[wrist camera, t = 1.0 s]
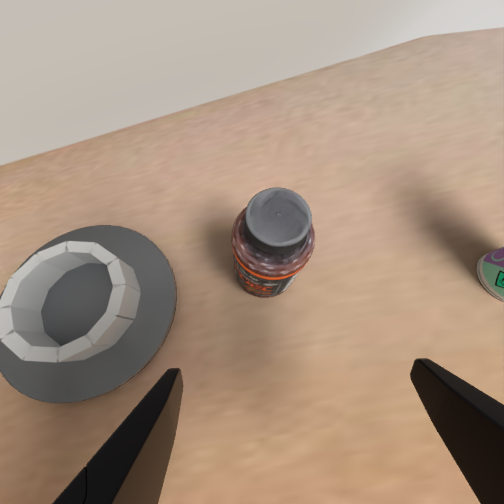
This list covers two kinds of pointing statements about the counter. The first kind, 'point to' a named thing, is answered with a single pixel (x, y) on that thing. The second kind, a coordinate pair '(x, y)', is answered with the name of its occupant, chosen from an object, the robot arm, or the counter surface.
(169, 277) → the ring mount
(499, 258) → the spray can
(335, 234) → the counter surface
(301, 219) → the supplement bottle
